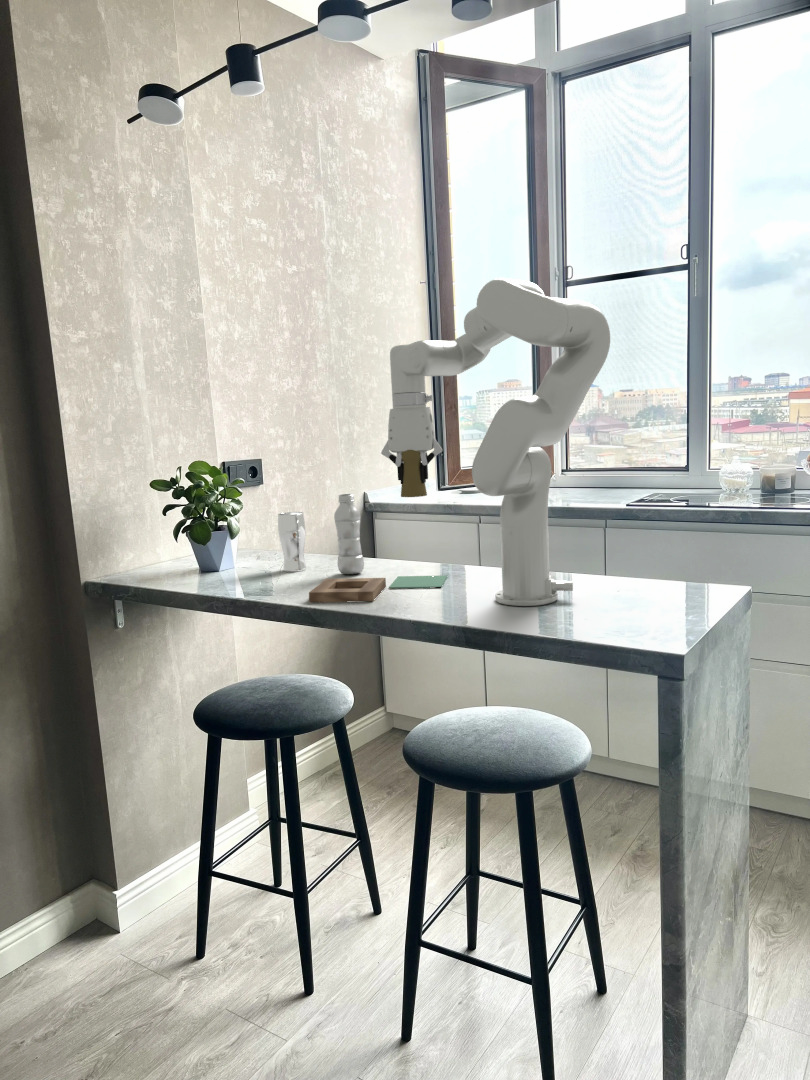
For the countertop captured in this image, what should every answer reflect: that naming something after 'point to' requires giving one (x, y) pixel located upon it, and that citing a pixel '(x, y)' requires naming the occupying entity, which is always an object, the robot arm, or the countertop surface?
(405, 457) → the cork
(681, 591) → the countertop surface
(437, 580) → the mat
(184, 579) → the countertop surface
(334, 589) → the socket
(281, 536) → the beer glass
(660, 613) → the countertop surface
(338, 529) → the plastic bottle
